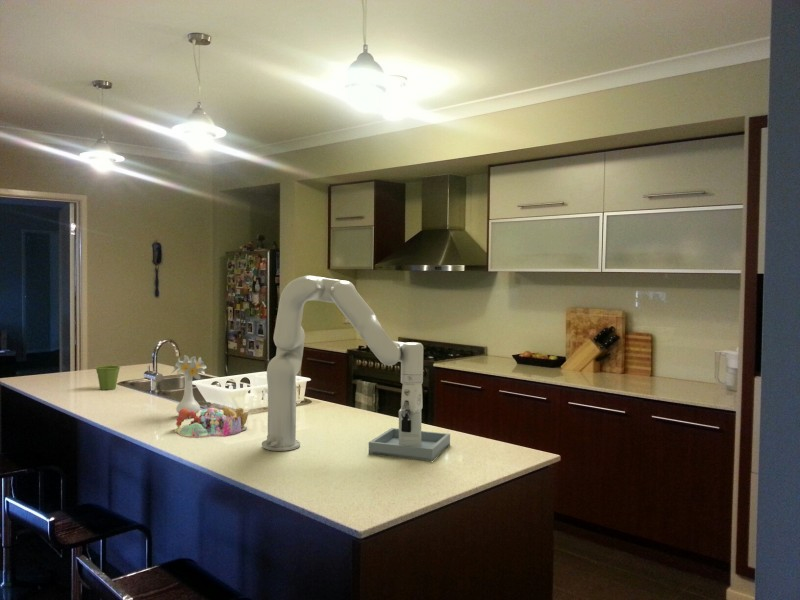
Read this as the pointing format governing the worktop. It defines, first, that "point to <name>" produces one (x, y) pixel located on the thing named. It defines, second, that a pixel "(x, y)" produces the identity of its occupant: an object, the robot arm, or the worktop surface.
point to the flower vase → (189, 381)
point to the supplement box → (415, 434)
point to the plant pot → (107, 376)
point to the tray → (427, 451)
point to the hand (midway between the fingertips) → (410, 428)
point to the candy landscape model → (211, 422)
